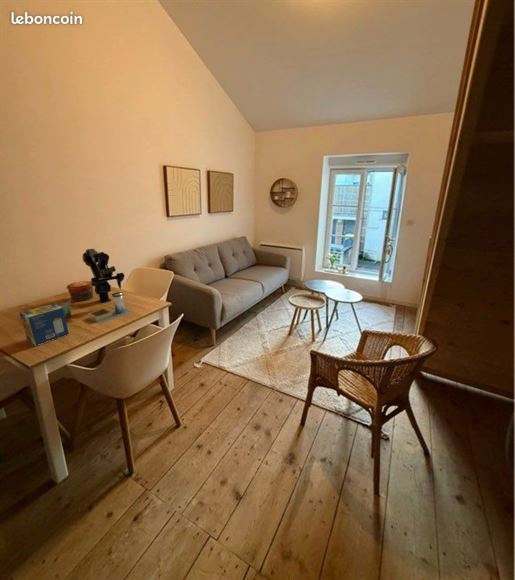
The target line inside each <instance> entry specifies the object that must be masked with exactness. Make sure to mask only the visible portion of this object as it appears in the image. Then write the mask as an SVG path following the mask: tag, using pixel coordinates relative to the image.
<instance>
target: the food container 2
mask: <svg viewBox="0 0 515 580" xmlns="http://www.w3.org/2000/svg"><path fill="white" fill-rule="evenodd" d="M93 287H94V286H92V285H91V280H90V281H89V280H87V281H85V280H83V281H81V280H80V281H77V282H75V281H74V282H72V283H70V284H67V286H66V287H65V288H66V289H67V291H68V293H69V295H70V298H71V300H72V301H73V302H85V301H88V300H91V299H93V298H94V290H93V289H94V288H93Z"/></svg>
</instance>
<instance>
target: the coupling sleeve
mask: <svg viewBox="0 0 515 580" xmlns="http://www.w3.org/2000/svg"><path fill="white" fill-rule="evenodd" d="M123 295H124V294H123V292H120V291H118V292H117V291H116V292H113V293H111V298H112V303H113V309H115V313H116V314H122V313H124V312H125V309H126V308H125V301H124V296H123Z"/></svg>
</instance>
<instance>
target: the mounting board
mask: <svg viewBox="0 0 515 580" xmlns="http://www.w3.org/2000/svg"><path fill="white" fill-rule="evenodd" d="M109 311H111V312H112V314H113V317H111V318H108V319H105V320H102V321H99V322H95V321H93V320H91V322H94V323H96V324H98V325H100V324H104V323H106V322H109V321H112V320H114V319H117V318H120V317H122V316H125V315H126V316H127V315H129V314H130V313H134V311H133V310H130V309H127V308H125V312H124V313H122V314H116V313H115V309H114V308H112V309H111V310H109ZM102 315H103V314H102ZM99 316H100V315H99ZM86 319H88V317H86ZM88 320H89V319H88Z"/></svg>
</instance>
